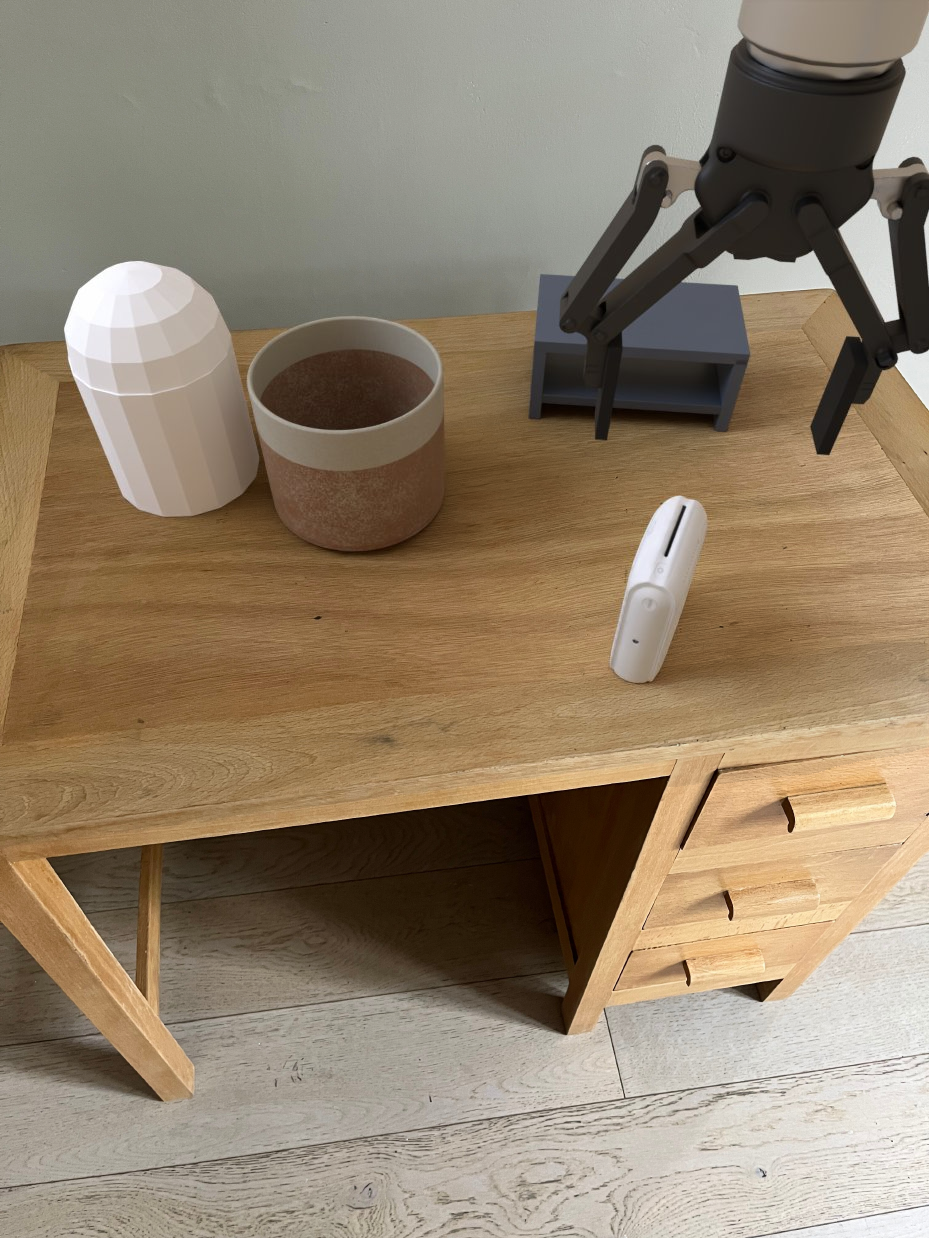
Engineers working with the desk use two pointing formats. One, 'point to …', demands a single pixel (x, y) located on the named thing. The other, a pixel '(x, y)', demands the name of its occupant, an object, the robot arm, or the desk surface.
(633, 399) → the shelf
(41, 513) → the desk surface
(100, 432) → the container
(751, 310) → the desk surface
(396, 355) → the planter
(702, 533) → the photo printer
